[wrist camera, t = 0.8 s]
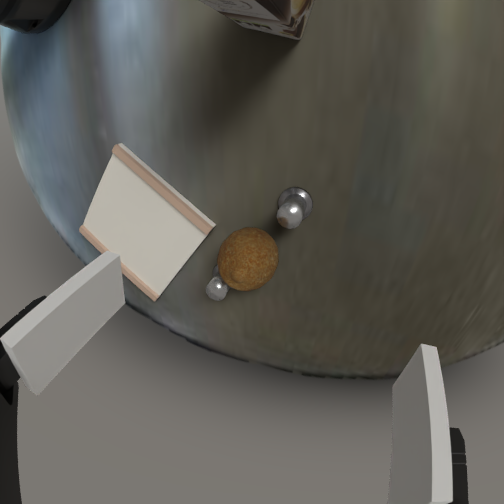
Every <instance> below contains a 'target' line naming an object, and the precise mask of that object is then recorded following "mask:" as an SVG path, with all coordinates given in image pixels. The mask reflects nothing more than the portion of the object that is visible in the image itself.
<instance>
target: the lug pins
mask: <svg viewBox="0 0 504 504" xmlns="http://www.w3.org/2000/svg"><path fill="white" fill-rule="evenodd" d="M278 204H279V210H278V212H277V220H278V222H279V223H280V225H281V226H283V227H285V228H288V229H292V228H295V227H297V226H298V225H299V224H300V223H301V221H302V220H303V219H305V218H306V217H308V216H309V214H310V213H311V211H312V208H313V201H312V198H311V196H310V194H309V193H308V192H307V191H306V190H304V189H302V188H299V187H291V188H288V189H286V190H285V191H284V192H283V193H282V194H281V196H280V198H279V202H278ZM230 288H232V287H230V286H229V285H228V284H227V283H226V282H224V280H223V279H222V277H221V275H220V274H219V270H218V264H217V265H216V266H215V268H214V269H213V278H212V280H211V281H210V282H209V284H208V285H207V287H206V293H207V295H208V296H209V297H210V298H211V299H213V300H217V301H220V300H222V299H223V298H224V297H225V295H226V294H227V292H228V291H229V289H230Z"/></svg>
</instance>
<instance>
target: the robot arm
mask: <svg viewBox="0 0 504 504" xmlns="http://www.w3.org/2000/svg"><path fill="white" fill-rule="evenodd" d="M69 2H70V0H0V25H2V26H5V27H8V28H10V29H13V30H16V31H18V32H21V33H25V34H30V33H40V32H43V31H45V30H46V29H48V28H49V27H50V26H52V25H53V24H54V23H55V22H56V21H57V20H58V18H59V17H60V16H61V15H62V13H63V12H64V10H65V9H66V7H67V6H68V4H69ZM124 304H125V298H124V290H123V281H122V271H121V260H120V255H119V254H116V253H113V252H110V251H106V252H104V253H103V254H102V255H100V256H99V257H98V258H96V259H95V260H94V261H92V262H91V263H90V264H88V265H87V266H86V267H85V268H83V269H82V270H81V271H80V272H78V273H77V274H76V275H74V276H73V277H72V278H70V279H69V280H68V281H67V282H65V283H64V284H63V285H62V286H60V287H59V288H58V289H57V290H55V291H54V292H53V293H52V294H51V295H49V296H48V297H46V296H42V297H40V298H38V299H36V300H34V301H32V302H31V303H30V304H29V305H28V306H26V307H25V309H23V310H22V311H20V312H19V314H18V315H16V316H14V317H13V318H12V319H11V320H10V321H9V322H8V323H6V324H5V325H4V326H3V327H2V328H1V329H0V504H22V501H21V493H20V485H19V474H18V473H19V472H18V457H17V456H18V455H17V407H18V389H19V387H18V382H17V381H18V379H19V378H21V379H22V381H23V383H24V385H25V386H26V387H27V388H28V389H29V390H31V391H32V392H33V393H34V394H36V395H37V396H38V395H39V394H40V393H41V392H42V391H43V389H44V388H45V387H46V386H47V385H48V384H49V383H50V382H51V381H52V379H53V378H54V377H55V376H56V375H57V374H58V373H59V372H60V371H61V370H62V368H63V367H64V366H65V365H66V364H67V363H68V362H69V361H70V360H71V359H72V358H73V357H74V355H75V354H76V353H77V352H78V351H79V350H80V349H81V348H82V347H83V346H84V345H85V344H86V343H87V342H88V341H89V340H90V338H91V337H92V336H93V335H94V334H95V333H96V332H97V331H98V330H99V329H100V328H101V327H102V326H103V325H104V324H105V323H106V322H107V321H108V320H109V319H110V318H111V317H112V316H113V315H114V314H115V313H116V312H117V311H118V310H119V309H120V308H121V306H122V305H124ZM387 504H469V503H468V482H467V466H466V455H465V442H464V439H463V436H462V434H461V432H460V430H459V428H449V422H448V414H447V406H446V398H445V392H444V385H443V379H442V373H441V368H440V362H439V357H438V352H437V347H434V346H429V345H425V344H420V346H419V348H418V349H417V351H416V352H415V354H414V355H413V357H412V358H411V360H410V361H409V363H408V364H407V366H406V367H405V369H404V370H403V372H402V373H401V375H400V376H399V378H398V379H397V380H396V382H395V383H394V385H393V427H392V454H391V469H390V482H389V493H388V502H387Z"/></svg>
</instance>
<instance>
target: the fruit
mask: <svg viewBox="0 0 504 504" xmlns="http://www.w3.org/2000/svg"><path fill="white" fill-rule="evenodd" d="M278 262H279V260H278V248H277V246H276V243H275V241H274V239H273V238H272V237H271V236H270V235H269V234H268V233H267V232H265V231H263V230H261V229H258V228H250V227H246V228H243V229H240V230H238V231H235V232H233V233H232V234H231V235H230V236H229V237H228V238H227V239H226V240H225V241H224V242H223V243H222V245H221V247H220V250H219V254H218V258H217V263H218V270H219V274H220V275H221V277H222V279H223V280H224V282H226V283H227V284H228V285H229V286H230V287H232V288H234V289H236V290H241V291H250V290H254V289H258V288H260V287H262V286H263V285H264V284H265V283H266V282H268V281H269V280H270V279H271V278H272V276H273V275H274V273H275V270H276V268H277V266H278Z"/></svg>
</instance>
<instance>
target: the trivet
mask: <svg viewBox="0 0 504 504" xmlns="http://www.w3.org/2000/svg"><path fill="white" fill-rule="evenodd" d="M112 152H113V155H112V157H111V159H110V161H109V164H108V166H107V168H106V170H105V172H104V175H103V177H102V179H101V181H100V184H99V186H98V188H97V191H96V193H95V196H94V198H93V200H92V203H91V205H90V208H89V210H88V213H87V216H86V218H85V221H84V224H83V225H82V226H80V229H79V231H80V232H81V233H82V234H83V235H84V236H85V237H86V238H87V239H88V240H89V241H90V242H91V243H92V244H93V245H94V246H95V247H96V248H97V249H98V250H99V251H100V252H101V253H102V254H103V253H104V252H106V251H110V252H113V253H116V254H119V255H120V260H121V271H122V273H123V274H124V275H125V276H126V277H127V278H128V279H130V280H131V281H132V282H133V283H134V284H135V285H136V286H137V287H138V288H140V289H141V290H142V291H143V292H144V293H145V294H146V295H148V296H149V297H150V298H151V299H152V300H153V301H154V302H155V301H156V300H157V299H158V297H159V296H160V295H161V294H162V292H163V291H164V290H165V289H166V287H167V286H168V285H169V283H170V282H171V281H172V279H173V278H174V277H175V276H176V274H177V273H178V272H179V271H180V269H181V268H182V267H183V265H184V264H185V263H186V262H187V260H188V259H189V258H190V257H191V255H192V254H193V253H194V252H195V250H196V249H197V248H198V247H199V245H200V244H201V243H202V242H203V240H204V239H205V238H206V237H207V235H208V234H209V233H210V232H211V230H212V229H213V228H214V227H215V225H216V224H215V223H213V222H212V221H211V220H210V219H209V218H208V217H206V216H205V215H204V214H203V213H202V212H201V211H199V210H198V209H197V208H196V207H195V206H194V205H193V204H191V203H190V202H189V201H188V200H187V199H186V198H184V197H183V196H182V195H181V194H180V193H179V192H178V191H176V190H175V189H174V188H173V187H172V186H171V185H169V184H168V183H167V182H166V181H165V180H164V179H163V178H161V177H160V176H159V175H158V174H157V173H156V172H154V171H153V170H152V169H151V168H150V167H149V166H148V165H146V164H145V163H144V162H143V161H142V160H141V159H139V158H138V157H137V156H136V155H135V154H134V153H133V152H131V151H130V150H129V149H128V148H127V147H126V146H125V145H123V144H122V143H120V144H117V145H115V146H114V148H113V150H112Z"/></svg>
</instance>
